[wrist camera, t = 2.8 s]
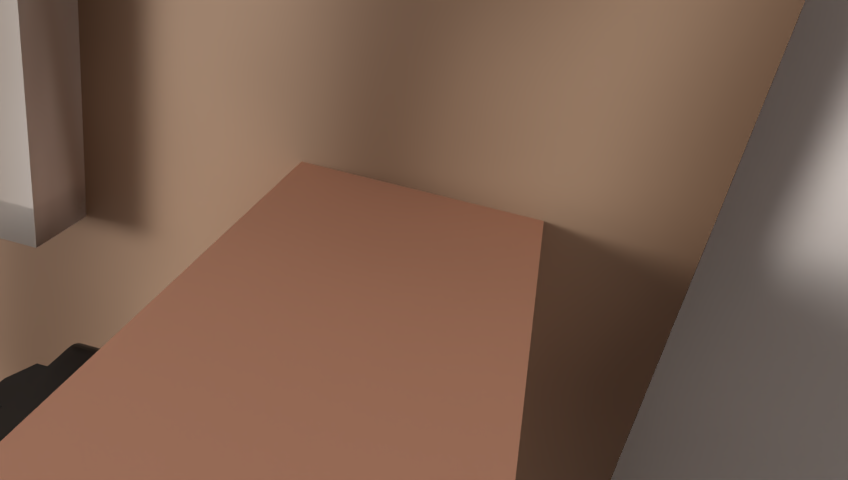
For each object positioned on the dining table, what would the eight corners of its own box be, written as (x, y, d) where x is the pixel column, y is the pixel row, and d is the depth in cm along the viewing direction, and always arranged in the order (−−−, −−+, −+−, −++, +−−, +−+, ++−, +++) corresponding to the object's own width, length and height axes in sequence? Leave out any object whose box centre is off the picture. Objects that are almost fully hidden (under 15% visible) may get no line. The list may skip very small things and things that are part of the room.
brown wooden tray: (818, -134, 11) (909, -148, 8) (553, 556, 19) (548, 687, 16) (-466, -380, 14) (-776, -464, 10) (-254, 322, 21) (-399, 395, 18)
